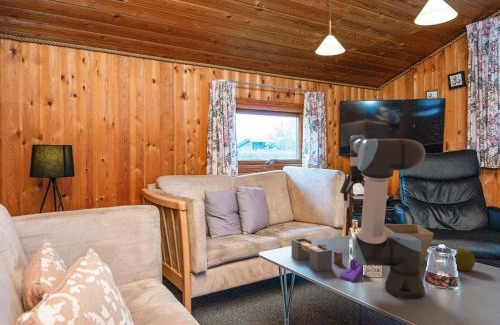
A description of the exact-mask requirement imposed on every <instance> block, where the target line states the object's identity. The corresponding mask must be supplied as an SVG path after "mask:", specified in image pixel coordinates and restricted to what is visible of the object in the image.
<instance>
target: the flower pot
mask: <svg viewBox="0 0 500 325" xmlns="http://www.w3.org/2000/svg"><path fill="white" fill-rule="evenodd" d="M383 232H384V233H385V234H386V236H387V237H390V234H391V233H401V234H406V235H410V236H413V237H415V238H417V239H418V240H419V241H420V242H421V265H423V264H425V263H424V262H425V261H426V258H427V257H428V254H429V252H427V249H428V248H429V247H430V248H431V246H432V242H433V238H434V232H432V231H429V230H428V229H426V228H424V227H422V226H421V225H418V224H410V223H409V224H405V223H403V224H402V223H401V224H396V223H395V224H394V223H393V224H391V223H390V224H386V223H384V231H383Z"/></svg>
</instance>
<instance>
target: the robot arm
mask: <svg viewBox="0 0 500 325" xmlns="http://www.w3.org/2000/svg"><path fill="white" fill-rule="evenodd" d="M349 146H350V156H349V157H350V158H349V161H350V162H349V164H350V166H349V172H350V175H349V174H345V179H344V180H343V181H344V182H343V184H342V186H341V189H340V194H342V195H343V201H344V207H345V208H350V192H351V190H352V188H353V187H354V185H355V184H361V186H362V188H363V201H362V214H361V228H360V229H358V230H357V232H356V235H354V236H352V240H351V241H352V248H353V249H352V250H353V256H354V258H355V260H356V262H357V263H358V264H360V265H366V267H368V266H379V267H380V266H381V267H389V271H388V274H387V276H386V280H385V281H384V290H385V291H386V292H387V293H389V294H390V295H393V296H394V297H398V298H402V299H408V300H418V299H422V298H423V297H425V295H426V288H425V286H424V283H423V279H422V275H421V265H422V264H421V242H420V241H419V240H418V239H417V238H415V237H413V236H410V235H406V234H401V233H391V234H390V237H387V236H386V234H385V233H384V232H383V231H384V224H385V218H386V210H387V197H388V187H389V180H390V179H391V178H393V177H394V172H395V171H408V170H412V169H414V168H416V167H417V168H418V167H419V166H420V165H421V164H422V163H423V161H424V160H425V159H426V158H425V157H426V150H425V146H424V145H423V144H422V143H420V142H419V141H416V140H413V139H408V138H366V136H365V135H364V134H362V135H361V134H360V135H358V134H357V135H351V136H350V141H349Z"/></svg>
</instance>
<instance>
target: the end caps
mask: <svg viewBox="0 0 500 325" xmlns="http://www.w3.org/2000/svg"><path fill="white" fill-rule="evenodd" d="M304 241H305V242H307V243H309V244H311V245H313V244H312V243H313V242H312V240H311V239H309V238H306V237H301V238H299V237H298V238H293V239H291V257H292V258H293V259H295V260H296V261H302V260H303V261H304V260H308V259H309V268H310V269H312V270H314V271H315V272H318V273H319V272H323V271H330V270H333V249H331V248H329V247H327V246H326V247H324V246H323V247H322V250H323V251H317V250H315V249H313V248H310V253H309V252H307V251H305V250H303V249H301V248H300V242H304Z"/></svg>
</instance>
